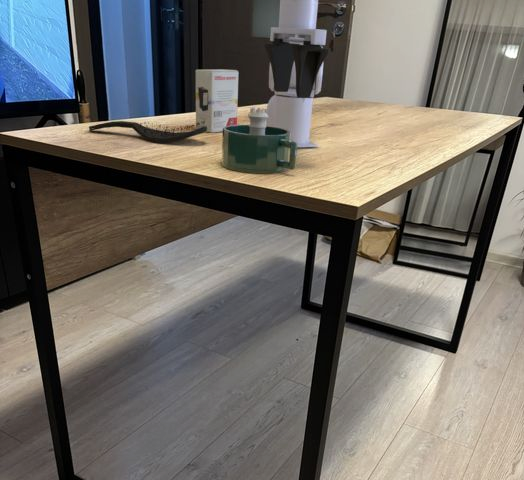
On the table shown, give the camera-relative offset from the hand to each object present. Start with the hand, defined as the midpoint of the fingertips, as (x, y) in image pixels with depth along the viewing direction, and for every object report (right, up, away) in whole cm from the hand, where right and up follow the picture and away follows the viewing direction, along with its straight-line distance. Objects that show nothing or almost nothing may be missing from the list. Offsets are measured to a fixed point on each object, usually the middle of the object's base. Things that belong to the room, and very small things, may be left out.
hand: (292, 94), depth 87 cm
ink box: (-15, +6, +30) cm, 34 cm away
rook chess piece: (-6, -12, -1) cm, 13 cm away
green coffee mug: (-5, -12, -1) cm, 13 cm away
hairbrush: (-27, -1, +17) cm, 32 cm away
